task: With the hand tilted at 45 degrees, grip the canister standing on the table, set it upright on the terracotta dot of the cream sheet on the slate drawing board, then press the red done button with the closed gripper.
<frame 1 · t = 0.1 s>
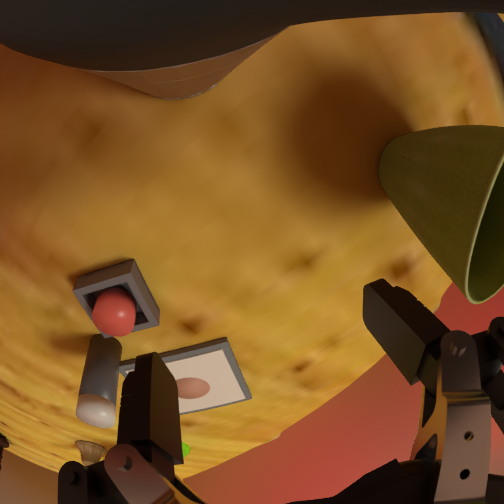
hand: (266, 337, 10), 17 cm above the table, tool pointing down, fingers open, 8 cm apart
flower pot: (400, 165, 27), on the table
hand bell: (90, 446, 46), on the table
done button: (114, 312, 25), point 3 cm above the table, slide at 0.0 cm
drawing board: (189, 383, 37), on the table
button base: (119, 294, 27), on the table
canister: (106, 345, 30), on the table
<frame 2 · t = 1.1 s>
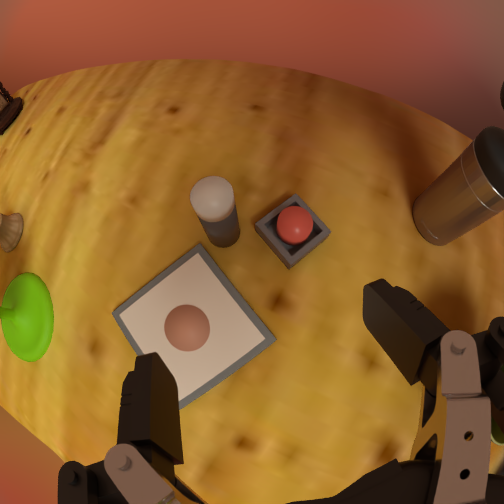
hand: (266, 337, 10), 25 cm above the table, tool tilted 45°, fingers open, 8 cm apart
wineglass: (25, 317, 35), on the table
hand bell: (12, 232, 39), on the table
done button: (294, 226, 35), point 3 cm above the table, slide at 0.0 cm
scroll: (8, 120, 50), on the table
drawing board: (188, 328, 34), on the table
button base: (291, 234, 37), on the table
canister: (223, 232, 38), on the table
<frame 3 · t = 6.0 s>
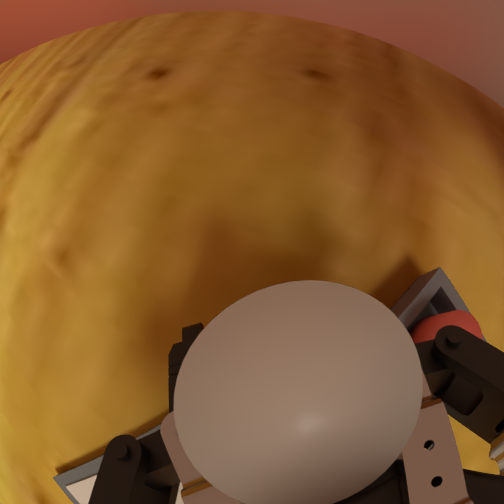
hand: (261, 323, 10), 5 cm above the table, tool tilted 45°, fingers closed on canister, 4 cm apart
done button: (443, 353, 11), point 3 cm above the table, slide at 0.0 cm
button base: (416, 352, 14), on the table
canister: (270, 359, 14), on the table, touching gripper
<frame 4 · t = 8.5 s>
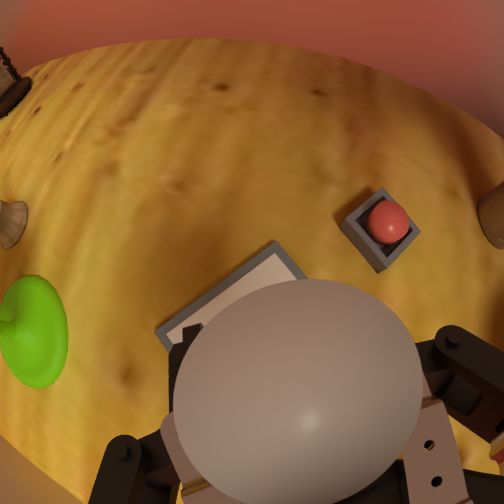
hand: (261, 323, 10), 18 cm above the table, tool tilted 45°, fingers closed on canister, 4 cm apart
wineglass: (29, 331, 27), on the table
hand bell: (13, 224, 32), on the table
done button: (387, 223, 28), point 3 cm above the table, slide at 0.0 cm
scroll: (14, 101, 44), on the table
drawing board: (263, 348, 27), on the table
button base: (377, 233, 30), on the table
canister: (269, 359, 14), point 13 cm above the table, touching gripper
when the fingers open (7 cm above the table, at t = 11.4 s): canister drops 1 cm, resting on drawing board.
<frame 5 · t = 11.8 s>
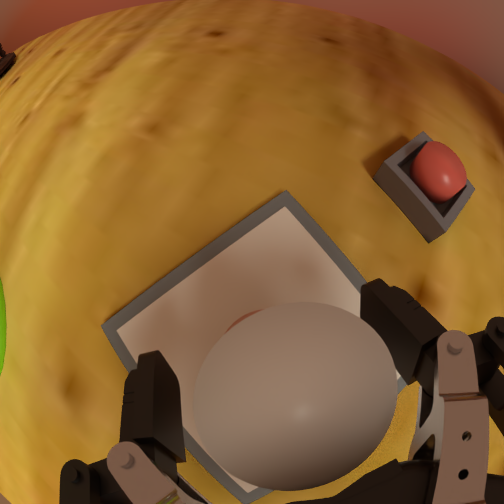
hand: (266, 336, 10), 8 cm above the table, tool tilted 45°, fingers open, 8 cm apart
done button: (438, 172, 17), point 3 cm above the table, slide at 0.0 cm
drawing board: (267, 357, 16), on the table
button base: (421, 190, 20), on the table
canister: (268, 359, 15), point 1 cm above the table, touching drawing board
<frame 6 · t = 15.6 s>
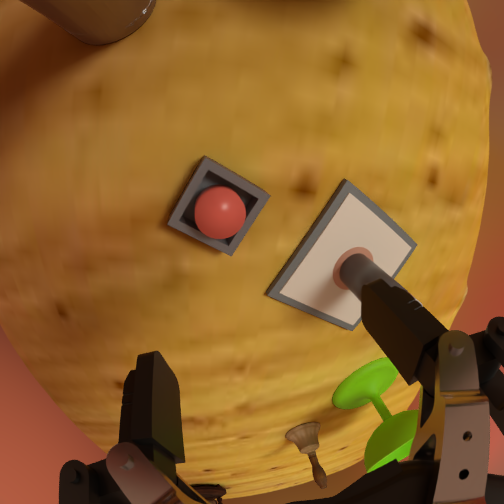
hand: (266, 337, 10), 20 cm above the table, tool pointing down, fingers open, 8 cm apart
wineglass: (366, 384, 49), on the table
hand bell: (302, 430, 52), on the table
done button: (219, 211, 25), point 3 cm above the table, slide at 0.0 cm
scroll: (202, 487, 63), on the table
drawing board: (349, 265, 34), on the table
button base: (216, 202, 27), on the table
canister: (354, 269, 33), point 1 cm above the table, touching drawing board
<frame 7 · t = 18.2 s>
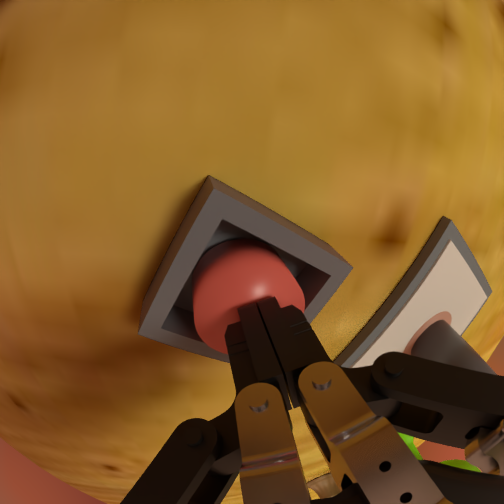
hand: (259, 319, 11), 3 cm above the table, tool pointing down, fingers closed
wineglass: (399, 430, 36), on the table
hand bell: (324, 477, 40), on the table
done button: (245, 298, 12), point 2 cm above the table, slide at 0.9 cm, touching gripper
drawing board: (421, 332, 21), on the table
button base: (236, 273, 13), on the table
canister: (429, 339, 20), point 1 cm above the table, touching drawing board
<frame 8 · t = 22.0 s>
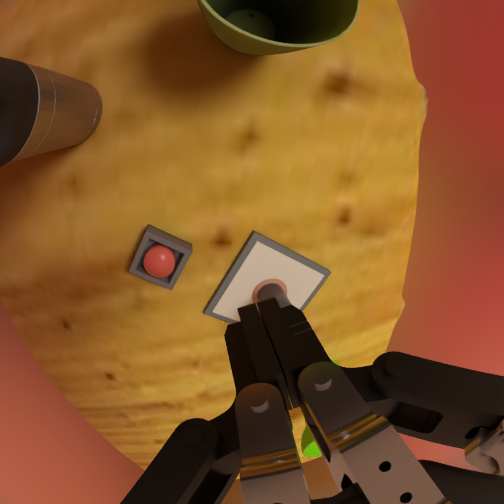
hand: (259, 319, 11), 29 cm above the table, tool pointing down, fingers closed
wineglass: (310, 380, 61), on the table
flower pot: (246, 30, 28), on the table
done button: (159, 259, 38), point 2 cm above the table, slide at 1.2 cm
drawing board: (268, 290, 46), on the table
button base: (160, 254, 39), on the table
canister: (270, 294, 45), point 1 cm above the table, touching drawing board
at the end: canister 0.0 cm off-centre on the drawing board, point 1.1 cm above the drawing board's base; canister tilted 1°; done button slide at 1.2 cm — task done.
